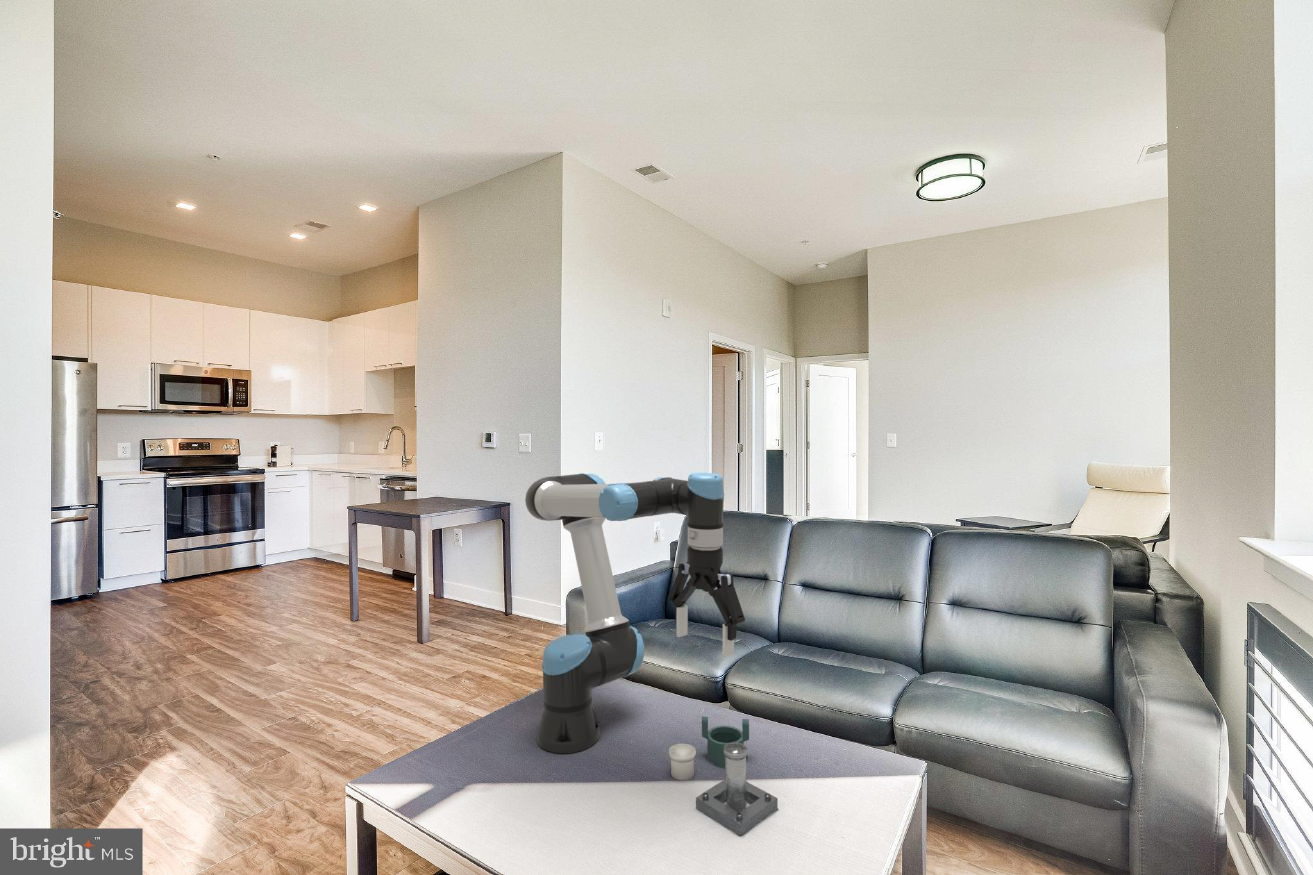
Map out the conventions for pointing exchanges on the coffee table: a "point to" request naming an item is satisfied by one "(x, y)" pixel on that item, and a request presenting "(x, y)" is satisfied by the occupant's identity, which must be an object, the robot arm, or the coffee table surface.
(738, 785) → the grey cylinder
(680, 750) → the cup
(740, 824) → the socket
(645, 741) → the coffee table surface
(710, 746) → the green cup holder
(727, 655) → the robot arm
